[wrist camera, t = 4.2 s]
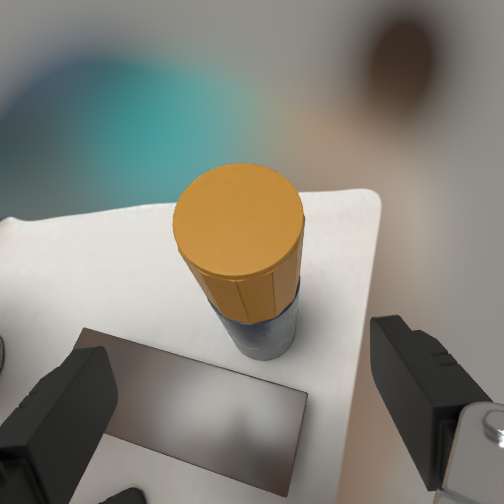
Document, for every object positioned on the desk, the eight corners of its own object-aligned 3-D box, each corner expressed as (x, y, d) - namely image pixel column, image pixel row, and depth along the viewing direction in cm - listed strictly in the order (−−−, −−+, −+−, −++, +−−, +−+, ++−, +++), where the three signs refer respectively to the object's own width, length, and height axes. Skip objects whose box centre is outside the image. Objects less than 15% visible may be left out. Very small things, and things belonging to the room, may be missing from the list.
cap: (187, 278, 24) (146, 217, 17) (252, 221, 26) (240, 143, 19) (250, 343, 22) (233, 304, 15) (317, 276, 23) (331, 211, 16)
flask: (218, 327, 37) (169, 256, 21) (263, 285, 38) (248, 190, 23) (263, 374, 34) (244, 333, 19) (308, 327, 36) (326, 253, 20)
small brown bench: (86, 413, 34) (41, 411, 28) (117, 343, 37) (83, 326, 31) (286, 483, 30) (286, 498, 24) (304, 398, 33) (308, 392, 27)
